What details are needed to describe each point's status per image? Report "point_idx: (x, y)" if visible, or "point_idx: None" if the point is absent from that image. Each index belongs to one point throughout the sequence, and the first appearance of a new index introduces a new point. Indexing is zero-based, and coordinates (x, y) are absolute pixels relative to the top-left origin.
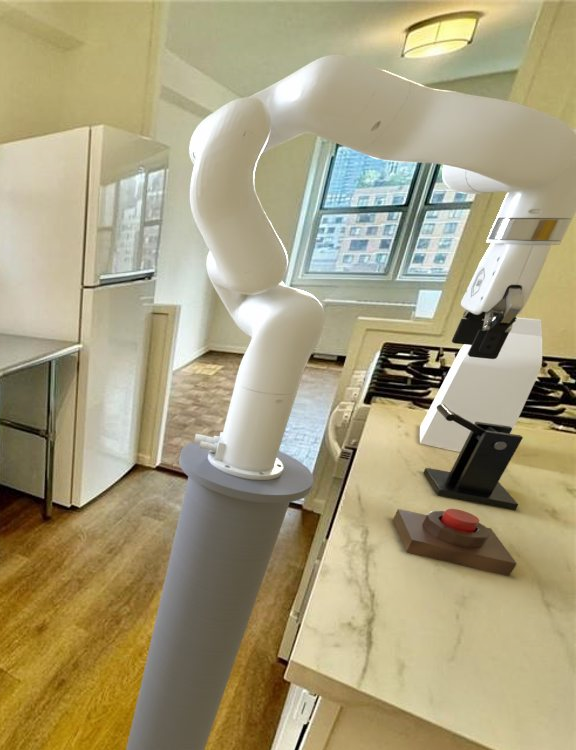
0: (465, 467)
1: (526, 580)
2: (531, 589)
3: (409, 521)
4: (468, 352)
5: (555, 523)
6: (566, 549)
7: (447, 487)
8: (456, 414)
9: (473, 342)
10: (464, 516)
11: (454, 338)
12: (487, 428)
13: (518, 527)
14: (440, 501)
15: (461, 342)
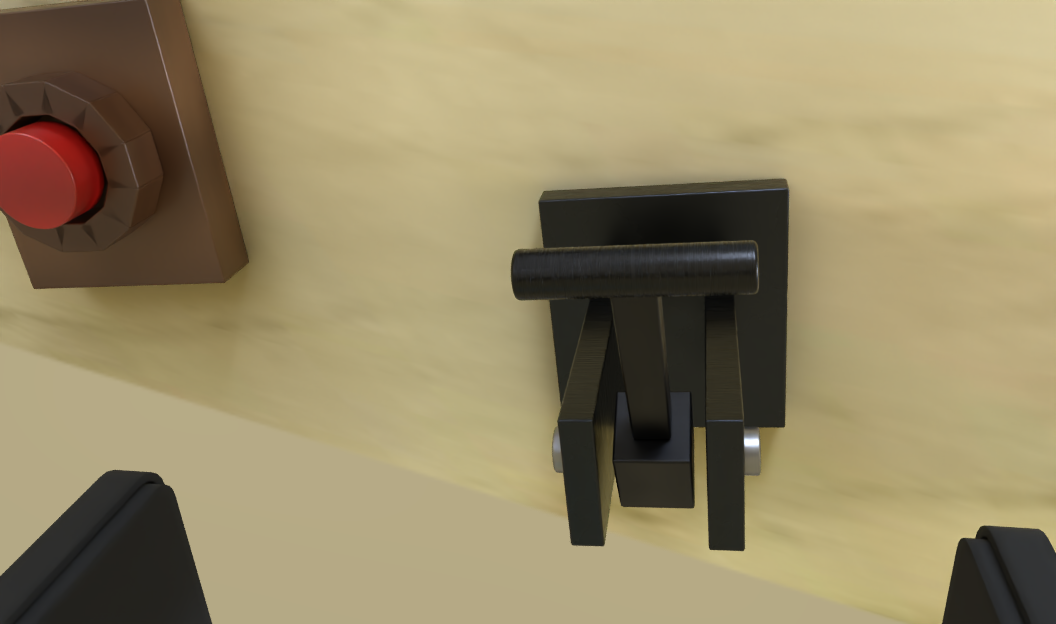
0: (610, 309)
1: (82, 304)
2: (43, 301)
3: (64, 29)
4: (129, 486)
5: (535, 487)
6: (357, 453)
7: (582, 233)
8: (637, 324)
9: (28, 580)
10: (29, 188)
11: (1012, 572)
12: (688, 450)
13: (428, 382)
14: (491, 193)
15: (946, 610)
